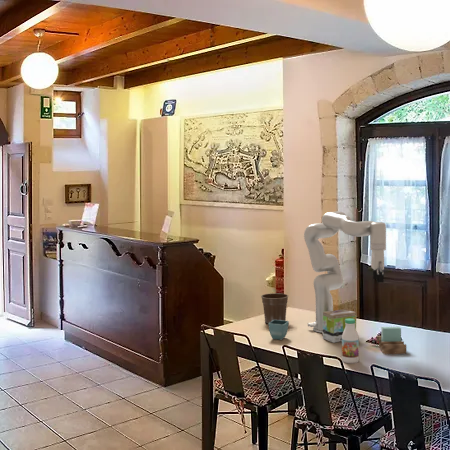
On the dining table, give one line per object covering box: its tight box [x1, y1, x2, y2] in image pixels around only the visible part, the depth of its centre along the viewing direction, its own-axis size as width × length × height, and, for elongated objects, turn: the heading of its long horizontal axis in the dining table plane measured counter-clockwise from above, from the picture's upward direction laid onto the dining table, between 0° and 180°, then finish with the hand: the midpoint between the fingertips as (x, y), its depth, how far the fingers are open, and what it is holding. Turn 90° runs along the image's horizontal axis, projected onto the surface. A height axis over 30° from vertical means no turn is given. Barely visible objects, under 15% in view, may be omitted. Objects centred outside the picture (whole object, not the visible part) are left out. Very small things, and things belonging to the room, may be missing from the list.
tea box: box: [322, 308, 357, 344], centre depth 324 cm, size 15×10×15 cm
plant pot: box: [260, 292, 289, 324], centre depth 362 cm, size 16×16×16 cm
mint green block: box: [380, 326, 402, 342], centre depth 304 cm, size 9×3×10 cm, turn 87°
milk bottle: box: [341, 318, 360, 364], centre depth 286 cm, size 8×8×20 cm
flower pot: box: [267, 320, 290, 341], centre depth 328 cm, size 9×9×9 cm
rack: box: [376, 335, 407, 355], centre depth 304 cm, size 11×16×4 cm
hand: (378, 280), depth 309 cm, fingers open, 9 cm apart
